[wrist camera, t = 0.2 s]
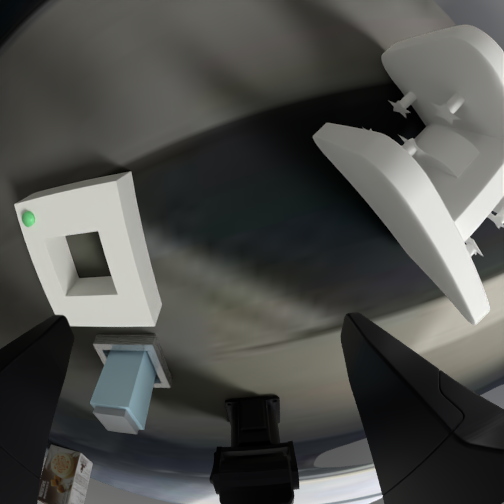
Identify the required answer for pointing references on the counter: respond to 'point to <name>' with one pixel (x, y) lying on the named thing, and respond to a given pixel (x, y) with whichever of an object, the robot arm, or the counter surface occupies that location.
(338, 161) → the cable organizer
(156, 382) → the gray square frame
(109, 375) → the plug
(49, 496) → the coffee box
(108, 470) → the counter surface
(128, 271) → the port panel
